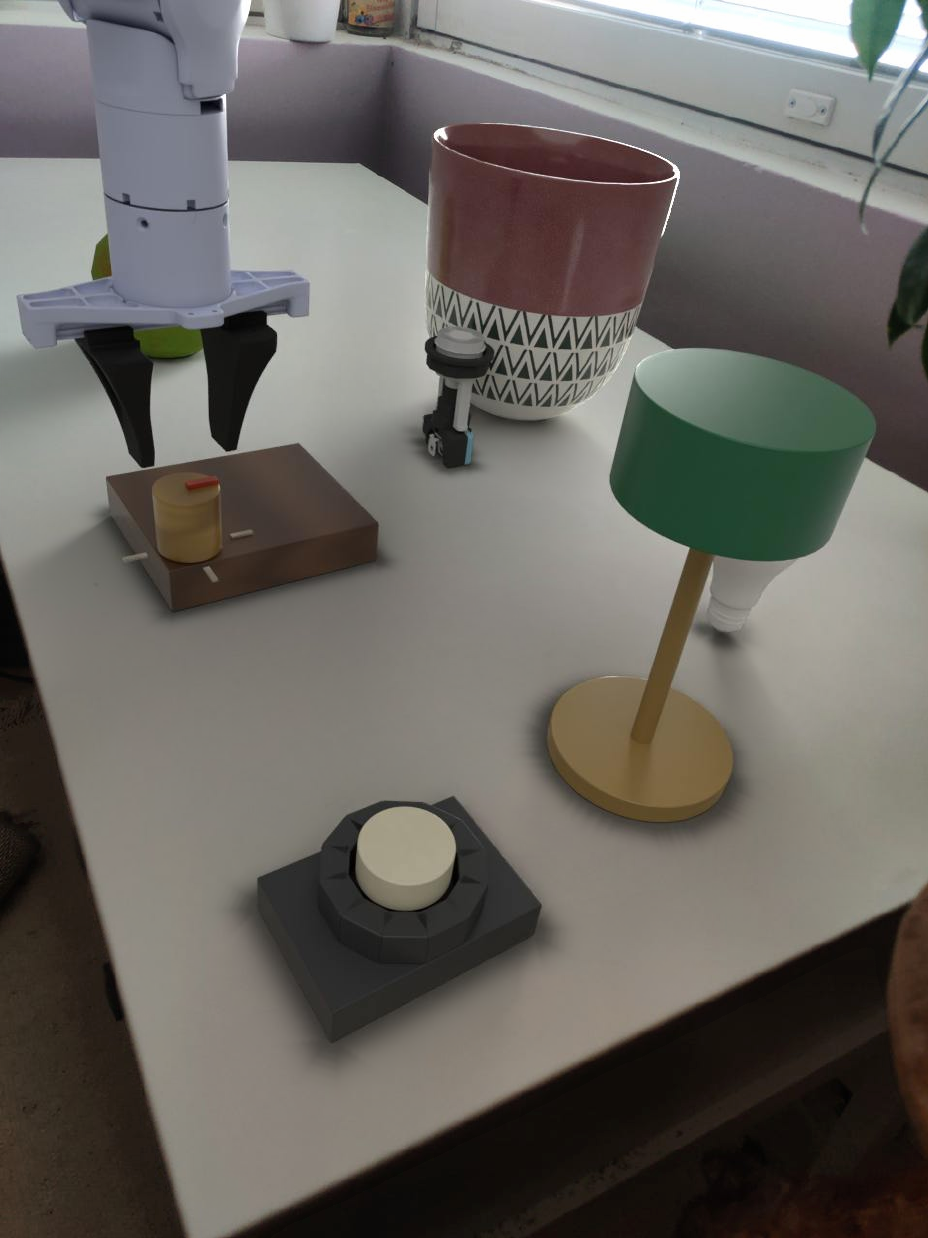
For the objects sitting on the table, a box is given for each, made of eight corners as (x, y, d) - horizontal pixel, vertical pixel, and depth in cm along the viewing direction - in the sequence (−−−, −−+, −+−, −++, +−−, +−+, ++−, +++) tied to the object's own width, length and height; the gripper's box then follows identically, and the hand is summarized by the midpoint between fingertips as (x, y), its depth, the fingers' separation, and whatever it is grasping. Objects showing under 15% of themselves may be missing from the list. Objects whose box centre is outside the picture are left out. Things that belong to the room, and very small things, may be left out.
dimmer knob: (170, 569, 54) (164, 505, 52) (148, 536, 57) (141, 473, 54) (232, 555, 56) (230, 492, 54) (208, 523, 59) (205, 462, 56)
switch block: (331, 1044, 36) (335, 987, 34) (257, 908, 41) (256, 849, 38) (534, 935, 41) (550, 878, 39) (449, 825, 46) (458, 768, 43)
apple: (197, 317, 93) (191, 202, 87) (244, 358, 87) (242, 237, 80) (83, 330, 88) (68, 207, 81) (125, 375, 81) (112, 245, 74)
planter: (453, 464, 75) (490, 178, 62) (380, 366, 89) (398, 116, 76) (658, 448, 82) (729, 188, 69) (560, 360, 96) (605, 130, 83)
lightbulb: (774, 621, 63) (832, 477, 57) (758, 670, 59) (819, 520, 52) (687, 591, 65) (734, 447, 58) (664, 637, 60) (712, 487, 54)
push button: (396, 436, 78) (406, 318, 72) (451, 428, 81) (465, 313, 75) (433, 473, 74) (447, 351, 68) (491, 464, 76) (509, 345, 70)
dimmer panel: (150, 640, 54) (146, 596, 52) (79, 520, 63) (73, 479, 61) (391, 576, 62) (395, 535, 60) (298, 478, 71) (299, 440, 69)
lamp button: (385, 927, 37) (388, 900, 36) (338, 854, 39) (339, 827, 38) (469, 887, 39) (475, 860, 38) (419, 820, 41) (423, 793, 40)
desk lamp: (629, 851, 46) (763, 470, 33) (510, 723, 52) (585, 362, 39) (765, 781, 51) (926, 428, 38) (642, 672, 57) (746, 337, 44)
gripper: (34, 228, 38) (76, 513, 46) (342, 211, 46) (332, 458, 54) (-15, 182, 43) (32, 451, 51) (275, 173, 50) (275, 408, 58)
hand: (183, 451), depth 53 cm, fingers open, 4 cm apart
